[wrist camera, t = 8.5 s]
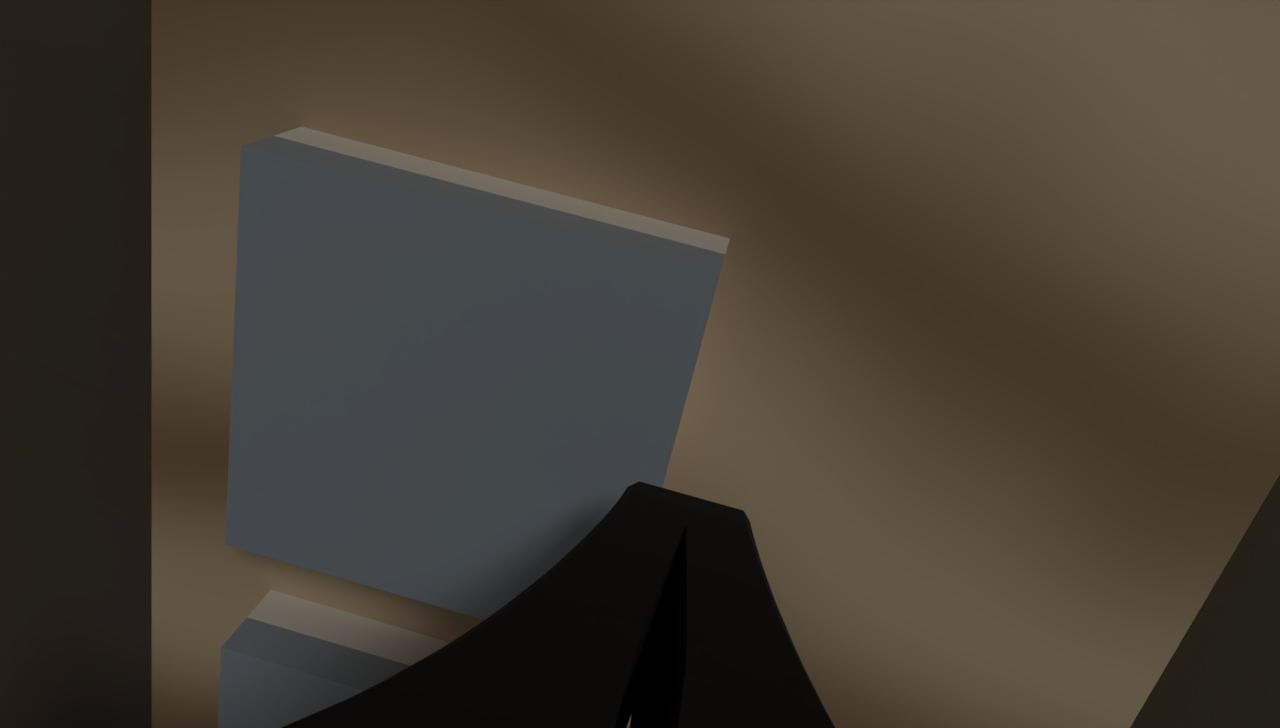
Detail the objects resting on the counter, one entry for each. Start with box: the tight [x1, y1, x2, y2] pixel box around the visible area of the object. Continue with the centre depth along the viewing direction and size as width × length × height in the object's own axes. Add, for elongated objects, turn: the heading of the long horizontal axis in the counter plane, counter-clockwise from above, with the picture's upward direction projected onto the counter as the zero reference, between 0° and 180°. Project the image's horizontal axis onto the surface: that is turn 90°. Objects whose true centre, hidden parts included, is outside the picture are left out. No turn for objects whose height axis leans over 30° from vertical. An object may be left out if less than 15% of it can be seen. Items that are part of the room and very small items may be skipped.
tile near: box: [225, 127, 730, 620], centre depth 13 cm, size 6×2×6 cm
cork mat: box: [152, 0, 1280, 728], centre depth 15 cm, size 22×16×1 cm
